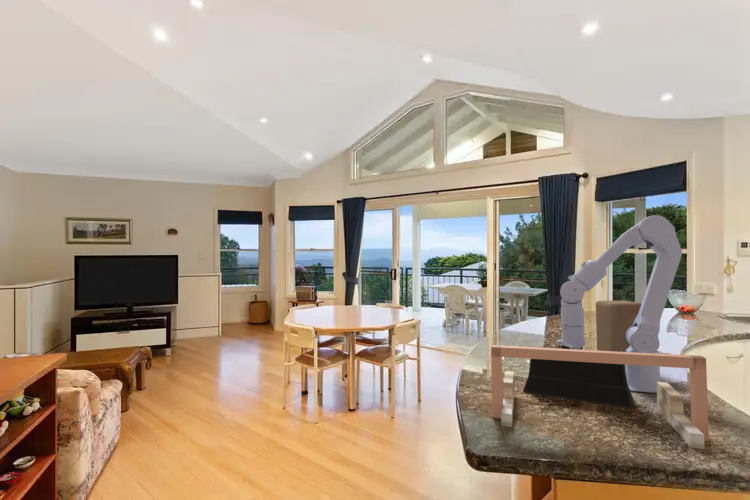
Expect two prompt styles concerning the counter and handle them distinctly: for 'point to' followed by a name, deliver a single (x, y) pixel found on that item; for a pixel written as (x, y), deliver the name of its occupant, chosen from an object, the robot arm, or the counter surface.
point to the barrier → (580, 382)
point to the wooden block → (614, 324)
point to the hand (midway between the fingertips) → (573, 375)
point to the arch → (629, 358)
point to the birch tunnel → (666, 404)
